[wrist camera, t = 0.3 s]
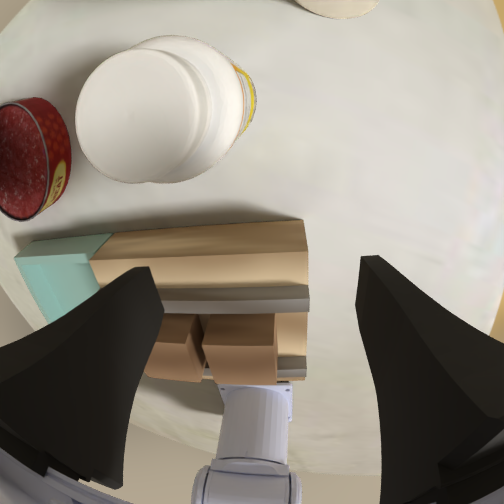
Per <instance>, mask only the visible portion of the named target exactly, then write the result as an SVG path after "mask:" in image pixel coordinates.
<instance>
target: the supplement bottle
mask: <svg viewBox="0 0 504 504" xmlns="http://www.w3.org/2000/svg"><path fill="white" fill-rule="evenodd" d="M256 102H257V99H256V91H255V87H254V84H253V82H252V80H251V78H250V77H249V75H248V74H247V73H246V72H245V70H243V69H242V68H241V67H240V66H239V65H238V64H236V63H235V62H234V61H232V60H231V59H229V58H228V57H227V56H225V55H224V54H222V53H221V52H219V51H218V50H216V49H215V48H214V47H212V46H210V45H209V44H207V43H205V42H203V41H200V40H198V39H195V38H191V37H186V36H178V35H166V36H159V37H155V38H151V39H148V40H145V41H143V42H141V43H139V44H137V45H135V46H133V47H132V48H130V49H129V50H126V51H123V52H120V53H117V54H115V55H113V56H111V57H110V58H108V59H107V60H105V61H104V62H102V63H101V64H100V65H99V66H98V67H97V68H96V69H95V70H94V71H93V72H92V73H91V75H90V76H89V77H88V79H87V80H86V82H85V84H84V85H83V87H82V90H81V92H80V95H79V98H78V101H77V105H76V112H75V126H76V134H77V138H78V141H79V144H80V147H81V149H82V151H83V153H84V154H85V156H86V158H87V159H88V160H89V162H90V163H91V164H92V165H93V166H94V167H95V168H96V169H97V170H98V171H99V172H101V173H102V174H104V175H105V176H107V177H109V178H111V179H113V180H116V181H119V182H124V183H144V182H153V183H177V182H181V181H185V180H188V179H192V178H194V177H196V176H198V175H200V174H202V173H204V172H205V171H207V170H208V169H210V168H211V167H212V166H214V165H215V164H216V163H217V162H218V161H219V160H220V159H221V158H222V157H223V156H224V155H225V154H226V153H227V152H228V150H229V149H230V148H231V147H232V145H233V144H234V143H235V142H236V140H237V139H238V138H239V137H240V136H241V134H242V133H243V132H244V131H245V130H246V128H247V127H248V126H249V124H250V122H251V121H252V118H253V116H254V113H255V109H256Z"/></svg>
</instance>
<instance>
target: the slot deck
mask: <svg viewBox="0 0 504 504" xmlns="http://www.w3.org/2000/svg"><path fill="white" fill-rule="evenodd" d="M89 262H90V265H91V267H92V270H93V272H94V274H95V277H96V279H97V281H98V284H99V286H100V289H102V288H103V287H105V286H106V285H107V284H109V283H110V282H112V281H113V280H114V279H116V278H117V277H119V276H120V275H122V274H123V273H125V272H126V271H128V270H130V269H132V268H134V267H143V266H149V267H150V270H151V273H152V276H153V279H154V282H155V285H156V288H157V290H158V293H159V296H160V299H161V301H162V304H163V307H164V309H165V311H164V313H186V314H198V315H199V319H200V322H201V325H202V329H203V332H204V335H205V331H206V328H207V324H208V321H209V317H210V314H264V313H275V314H276V329H277V343H278V362H277V381H298V380H305V377H306V371H307V366H306V345H307V317H308V312H309V301H310V298H309V288H308V246H307V240H306V234H305V227H304V221H303V220H293V221H272V222H253V223H236V224H220V225H205V226H191V227H177V228H164V229H152V230H140V231H129V232H118V233H114V234H113V235H112V236H111V237H110V238H109V239H108V241H107V242H106V243H105V244H104V245H103V246H102V247H101V248H100V249H99V250H98V251H97V252H96V253H95V254H94V255H93V256H92V257H91V259H90V260H89ZM100 289H99V290H100ZM99 290H98V291H99ZM98 291H97V292H98ZM144 372H145V371H144ZM202 379H213V376H212V373H211V370H210V368H209V365H208V362H207V360H206V364H205V368H204V372H203V376H202Z"/></svg>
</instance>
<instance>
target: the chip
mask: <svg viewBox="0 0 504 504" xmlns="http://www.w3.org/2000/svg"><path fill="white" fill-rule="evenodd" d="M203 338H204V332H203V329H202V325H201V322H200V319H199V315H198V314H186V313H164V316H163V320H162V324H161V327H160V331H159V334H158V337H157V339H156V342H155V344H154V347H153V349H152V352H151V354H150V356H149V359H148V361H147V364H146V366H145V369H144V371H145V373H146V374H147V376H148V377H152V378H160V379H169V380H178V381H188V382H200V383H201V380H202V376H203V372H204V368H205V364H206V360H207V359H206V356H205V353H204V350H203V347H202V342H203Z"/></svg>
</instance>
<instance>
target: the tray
mask: <svg viewBox="0 0 504 504" xmlns="http://www.w3.org/2000/svg"><path fill="white" fill-rule="evenodd" d="M112 235H113V233H107V234H97V235H87V236H77V237H68V238H59V239H50V240H41V241H33V242H31V243H30V244H29V245H27V246H26V247H25V248H24V249H23V250H22V251H21V252H19V253H18V254H17V255H16V256H15V257H14V260H15V262H16V264H17V266H18V268H19V271H20V273H21V275H22V277H23V279H24V281H25V283H26V285H27V287H28V289H29V291H30V292H31V294H32V296H33V298H34V300H35V302H36V303H37V305H38V307H39V309H40V311H41V312H42V314H43V316H44V317H45V319H46V321H47V322H48V324H50V323H52V322H53V321H55V320H57V319H58V318H60V317H62V316H63V315H65V314H66V313H68V312H69V311H71V310H72V309H74V308H75V307H76V306H78V305H79V304H81V303H82V302H84V301H85V300H87V299H88V298H89V297H91V296H92V295H94V294H95V293H96V292H97V291H98V290H99V289H100V286H99V284H98V281H97V279H96V277H95V274H94V272H93V270H92V267H91V265H90V262H89V260H90V259H91V257H92V256H93V255H94V254H95V253H96V252H97V251H98V250H99V249H100V248H101V247H102V246H103V245H104V244H105V243H106V242H107V241H108V239H109V238H110V237H111V236H112Z"/></svg>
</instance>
